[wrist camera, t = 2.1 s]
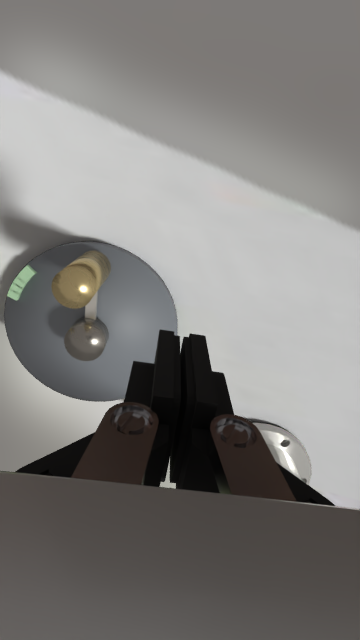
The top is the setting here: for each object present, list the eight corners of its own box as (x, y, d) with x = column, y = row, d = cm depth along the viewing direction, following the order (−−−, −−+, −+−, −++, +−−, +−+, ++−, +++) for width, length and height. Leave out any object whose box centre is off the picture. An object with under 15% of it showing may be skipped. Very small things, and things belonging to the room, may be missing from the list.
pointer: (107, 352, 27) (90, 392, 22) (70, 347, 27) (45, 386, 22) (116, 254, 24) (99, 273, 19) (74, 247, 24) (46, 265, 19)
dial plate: (203, 358, 29) (205, 367, 28) (70, 414, 32) (65, 424, 30) (127, 209, 25) (124, 210, 23) (-24, 287, 27) (-35, 293, 25)
